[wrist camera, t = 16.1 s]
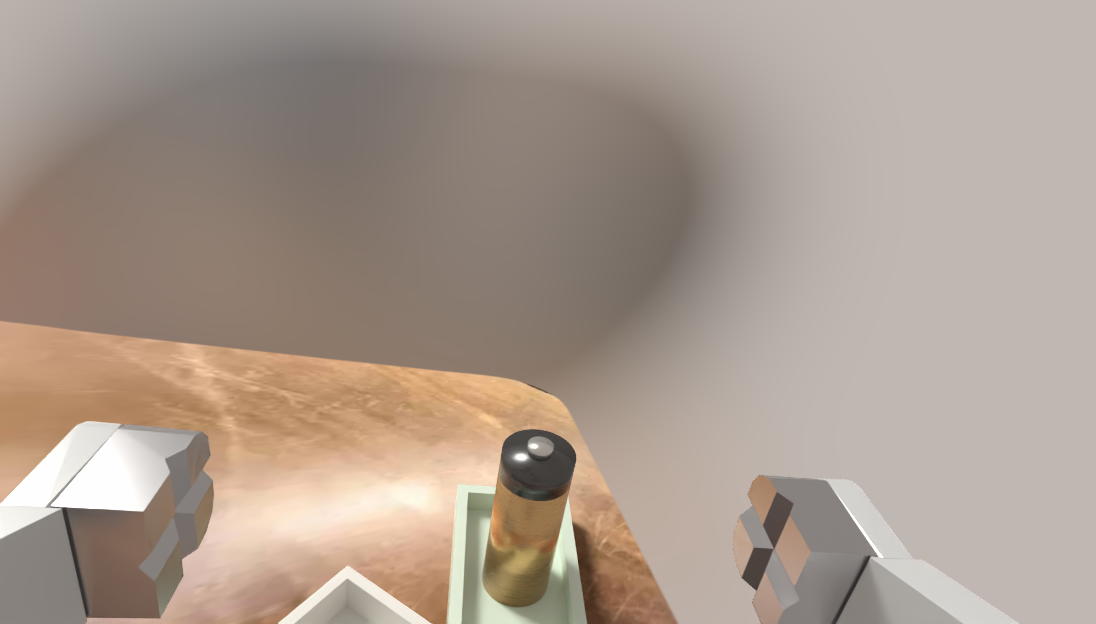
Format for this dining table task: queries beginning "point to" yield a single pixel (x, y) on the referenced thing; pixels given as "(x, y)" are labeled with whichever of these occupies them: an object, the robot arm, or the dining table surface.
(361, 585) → the small white open box
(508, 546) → the cell
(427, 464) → the dining table surface
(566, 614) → the pale green tray
